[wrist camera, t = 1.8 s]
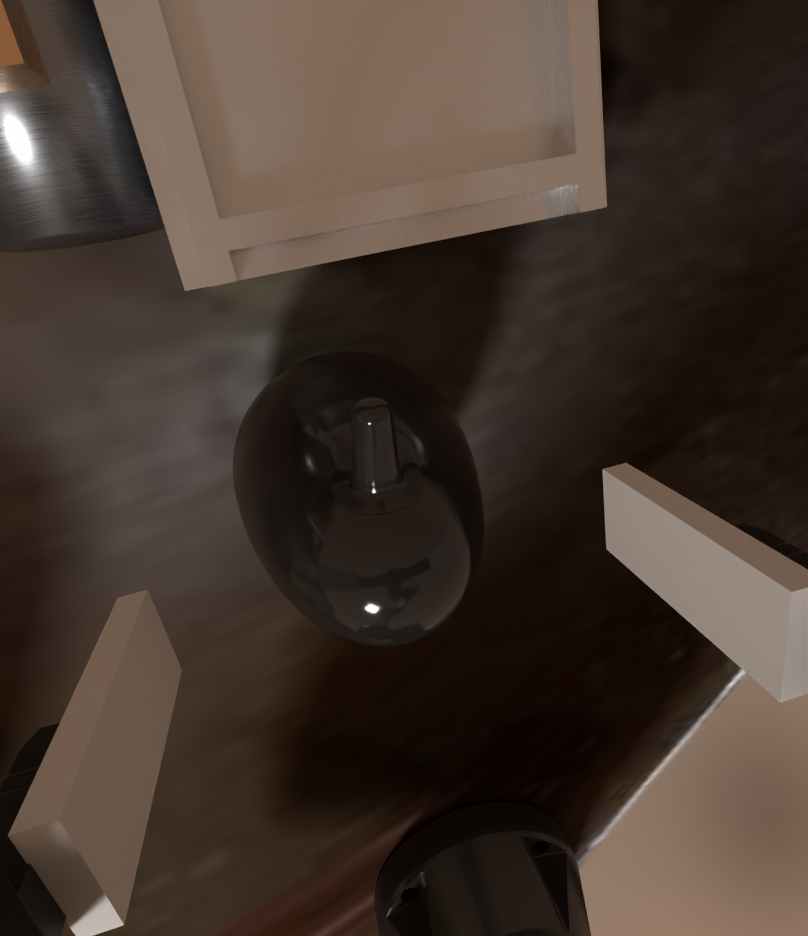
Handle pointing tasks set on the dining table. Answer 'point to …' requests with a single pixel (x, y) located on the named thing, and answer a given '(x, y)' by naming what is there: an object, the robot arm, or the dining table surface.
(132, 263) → the dining table surface
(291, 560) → the pump dispenser
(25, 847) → the robot arm
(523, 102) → the white tray
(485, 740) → the dining table surface
